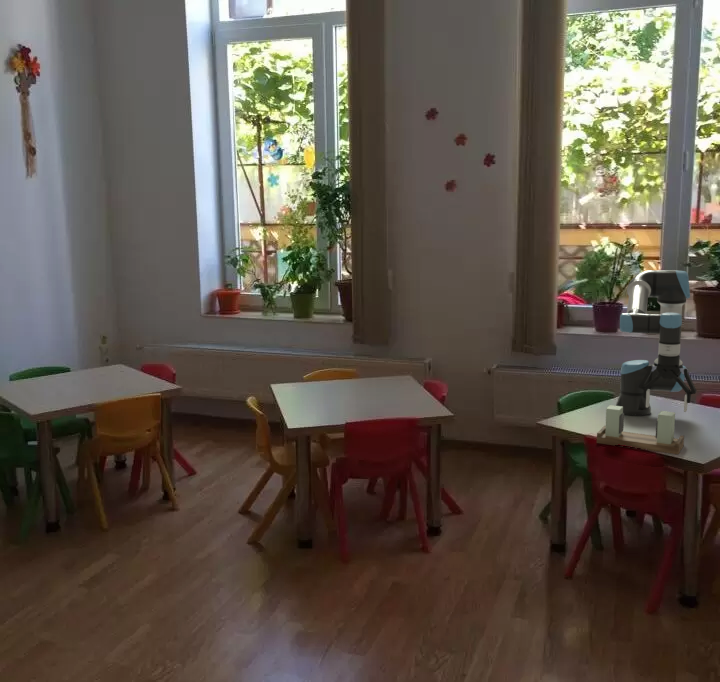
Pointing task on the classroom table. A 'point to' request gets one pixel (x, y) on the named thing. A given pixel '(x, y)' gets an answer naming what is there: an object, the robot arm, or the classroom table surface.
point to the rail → (641, 441)
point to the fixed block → (614, 421)
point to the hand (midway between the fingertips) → (666, 408)
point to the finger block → (665, 427)
